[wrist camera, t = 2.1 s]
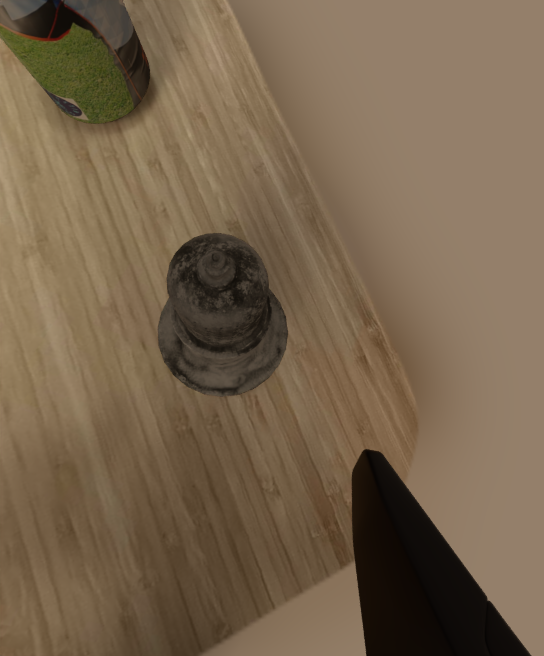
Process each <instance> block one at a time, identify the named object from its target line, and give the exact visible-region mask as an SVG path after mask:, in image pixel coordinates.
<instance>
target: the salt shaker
mask: <svg viewBox="0 0 544 656" xmlns="http://www.w3.org/2000/svg"><path fill="white" fill-rule="evenodd" d="M167 289H168V294H169V299H168V301H167V303H166V305H165V306H164V308H163V310H162V312H161V316H160V321H159V326H158V341H159V348H160V351H161V354H162V356H163V359H164V362H165V363H166V365H167V366H168V368H169V369H170V371H171V372H172V373H173V375H174V376H175V377H176V378H177V379H179V380H180V381H181V382H182V383H184V384H185V385H186V386H187V387H189V388H191V389H194V390H196V391H198V392H200V393H203V394H207V395H214V396H220V397H223V396H231V395H239V394H242V393H244V392H247V391H249V390H252V389H254V388H256V387H257V386H258V385H260V384H261V383H262V382H264V381H265V380H266V379H268V378H269V377H270V376H271V374H272V373H273V372H274V371H275V369H276V368H277V367H278V365H279V364H280V362H281V359H282V357H283V354H284V352H285V350H286V343H287V336H288V330H287V322H286V316H285V314H284V311H283V309H282V307H281V304H280V302H279V301H278V299H277V298H276V297H275V295H274V294H273V293H272V291H271V290H270V289H269V282H268V275H267V271H266V269H265V266H264V264H263V262H262V259H261V258H260V256H259V255H258V254H257V252H256V251H255V250H254V249H253V248H252V247H251V246H250V245H248V244H247V243H246V242H244V241H243V240H241V239H238V238H236V237H234V236H232V235H226V234H221V233H213V234H204V235H201V236H198V237H195V238H193V239H191V240H190V241H188V242H186V243H185V244H183V246H182V247H181V248H180V249H179V250H178V251H177V252H176V253H175V255H174V257H173V259H172V260H171V262H170V265H169V270H168V275H167Z"/></svg>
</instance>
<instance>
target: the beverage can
mask: <svg viewBox="0 0 544 656" xmlns="http://www.w3.org/2000/svg"><path fill="white" fill-rule="evenodd" d="M0 38H1V39H2V40H3V41H4V42H5V44H6V45H7V46H8V47H9V48H10V50H11V51H12V52H13V53H14V54H15V56H16V57H17V58H18V59H19V60H20V61H21V63H22V64H23V65H24V66H25V67H26V69H27V70H28V71H29V72H30V73H31V75H32V76H33V77H34V78H35V79H36V81H37V82H38V83H39V84H40V85H41V87H42V88H43V89H44V90H45V91H46V93H47V94H48V95H49V96H50V97H51V99H52V100H53V101H54V102H55V103H56V105H57V106H58V107H59V108H60V109H61V110H62V111H63V112H64V113H66V114H67V115H68V116H70V117H72V118H74V119H76V120H78V121H82V122H85V123H93V124H96V123H106V122H111V121H114V120H117V119H119V118H121V117H123V116H125V115H127V114H128V113H129V112H131V111H132V110H133V109H134V108H135V107H136V106H137V105H138V104H139V103H140V101H141V100H142V98H143V97H144V95H145V93H146V90H147V88H148V84H149V79H150V68H149V63H148V60H147V57H146V55H145V52H144V50H143V48H142V45H141V43H140V41H139V38H138V36H137V33H136V31H135V29H134V26H133V24H132V22H131V19H130V17H129V15H128V12H127V10H126V7H125V5H124V3H123V0H0Z"/></svg>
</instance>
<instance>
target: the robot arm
mask: <svg viewBox="0 0 544 656" xmlns="http://www.w3.org/2000/svg"><path fill="white" fill-rule="evenodd" d="M352 531H353V547H354V556H355V564H356V573H357V581H358V589H359V597H360V606H361V614H362V622H363V630H364V639H365V646H366V655H367V656H531V655H530V653H529V652H528V651H527V649H526V648H525V647H524V646H523V644H522V643H521V642H520V640H519V639H518V638H517V636H516V635H515V634H514V632H513V631H512V630H511V628H510V627H509V626H508V624H507V623H506V622H505V620H504V619H503V618H502V616H501V615H500V614H499V612H498V611H497V610H496V608H495V607H494V605H493V604H492V603H491V602H490V601H487V596H486V595H485V593H484V592H483V591H482V589H481V588H480V587H479V585H478V584H477V582H476V581H475V580H474V578H473V577H472V576H471V574H470V573H469V571H468V570H467V569H466V567H465V566H464V565H463V563H462V562H461V561H460V559H459V558H458V556H457V555H456V554H455V553H454V551H453V550H452V548H451V547H450V546H449V544H448V543H447V541H446V540H445V539H444V537H443V536H442V535H441V533H440V532H439V530H438V529H437V528H436V526H435V525H434V524H433V522H432V521H431V520H430V518H429V517H428V515H427V514H426V513H425V511H424V510H423V509H422V507H421V506H420V505H419V503H418V502H417V500H416V499H415V498H414V496H413V495H412V494H411V492H410V491H409V489H408V488H407V487H406V485H405V484H404V483H403V481H402V480H401V479H400V477H399V476H398V474H397V473H396V472H395V470H394V469H393V468H392V466H391V465H390V464H389V462H388V461H387V459H386V458H385V457H384V455H383V454H382V453H381V452H379V451H374V450H369V449H365V450H363V452H362V453H361V455H360V457H359V459H358V461H357V463H356V465H355V467H354V469H353V472H352Z"/></svg>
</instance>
